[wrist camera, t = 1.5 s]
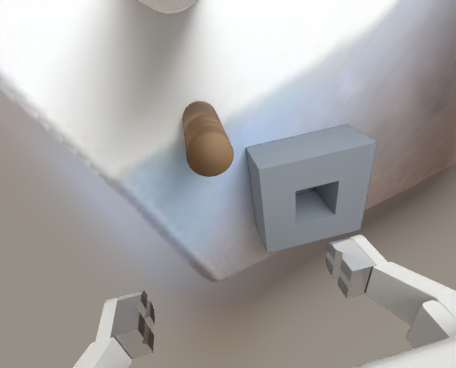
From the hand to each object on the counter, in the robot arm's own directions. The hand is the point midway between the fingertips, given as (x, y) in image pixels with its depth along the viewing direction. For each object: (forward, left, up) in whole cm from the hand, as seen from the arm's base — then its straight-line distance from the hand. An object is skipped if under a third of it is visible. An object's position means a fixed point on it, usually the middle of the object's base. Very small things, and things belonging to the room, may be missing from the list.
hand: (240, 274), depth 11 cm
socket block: (-12, +12, -22) cm, 28 cm away
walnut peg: (0, 0, -22) cm, 22 cm away
